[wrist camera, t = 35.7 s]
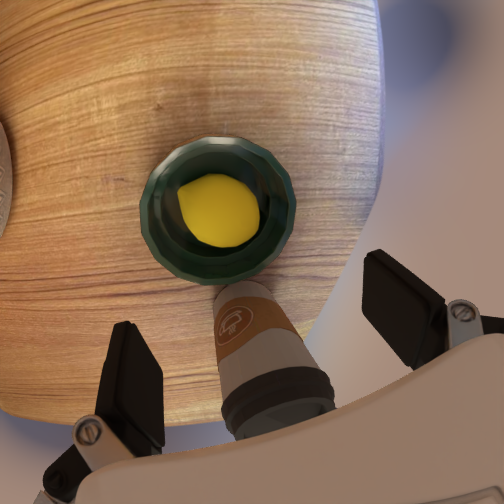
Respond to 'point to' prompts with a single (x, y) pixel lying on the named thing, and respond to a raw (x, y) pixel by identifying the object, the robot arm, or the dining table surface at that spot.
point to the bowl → (178, 234)
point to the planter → (5, 180)
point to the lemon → (219, 210)
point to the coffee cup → (264, 365)
